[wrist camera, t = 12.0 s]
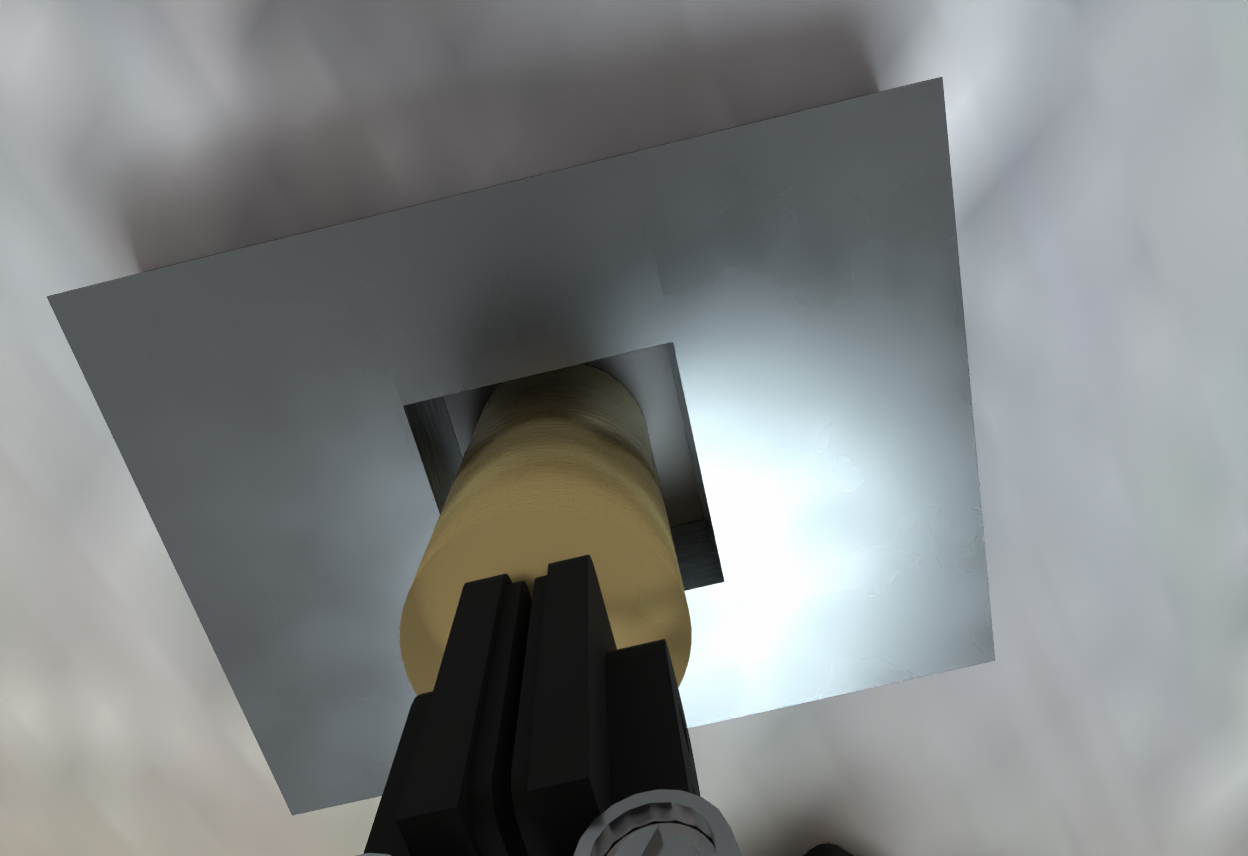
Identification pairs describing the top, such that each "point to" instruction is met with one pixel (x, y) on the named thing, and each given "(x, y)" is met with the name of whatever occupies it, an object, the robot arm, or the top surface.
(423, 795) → the robot arm
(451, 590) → the beige cylinder
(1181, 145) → the top surface
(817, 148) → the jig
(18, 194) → the top surface
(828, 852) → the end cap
